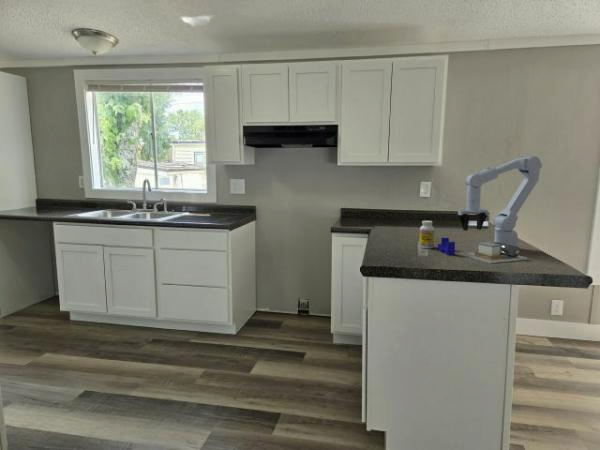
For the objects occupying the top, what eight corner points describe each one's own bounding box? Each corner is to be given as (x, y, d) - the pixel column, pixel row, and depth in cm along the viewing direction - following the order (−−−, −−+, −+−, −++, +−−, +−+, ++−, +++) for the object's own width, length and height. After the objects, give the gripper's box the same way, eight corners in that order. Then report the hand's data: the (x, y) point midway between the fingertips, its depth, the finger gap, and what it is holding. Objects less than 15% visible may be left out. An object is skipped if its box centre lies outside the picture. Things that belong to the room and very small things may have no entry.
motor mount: (498, 252, 179) (498, 240, 178) (527, 259, 164) (527, 247, 163) (464, 255, 174) (464, 243, 174) (490, 263, 159) (491, 250, 158)
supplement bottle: (418, 248, 191) (419, 221, 189) (419, 245, 197) (420, 220, 196) (433, 249, 189) (434, 222, 187) (434, 246, 195) (434, 220, 193)
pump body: (486, 253, 173) (486, 242, 172) (499, 256, 166) (500, 244, 166) (478, 254, 171) (478, 242, 170) (491, 257, 165) (492, 245, 164)
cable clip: (437, 250, 187) (438, 237, 186) (447, 250, 187) (448, 237, 186) (443, 255, 175) (444, 242, 175) (454, 255, 175) (454, 242, 174)
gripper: (480, 199, 188) (479, 227, 190) (454, 200, 185) (453, 229, 186) (491, 200, 182) (489, 229, 184) (464, 201, 178) (463, 231, 180)
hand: (472, 229), depth 185 cm, fingers open, 7 cm apart
